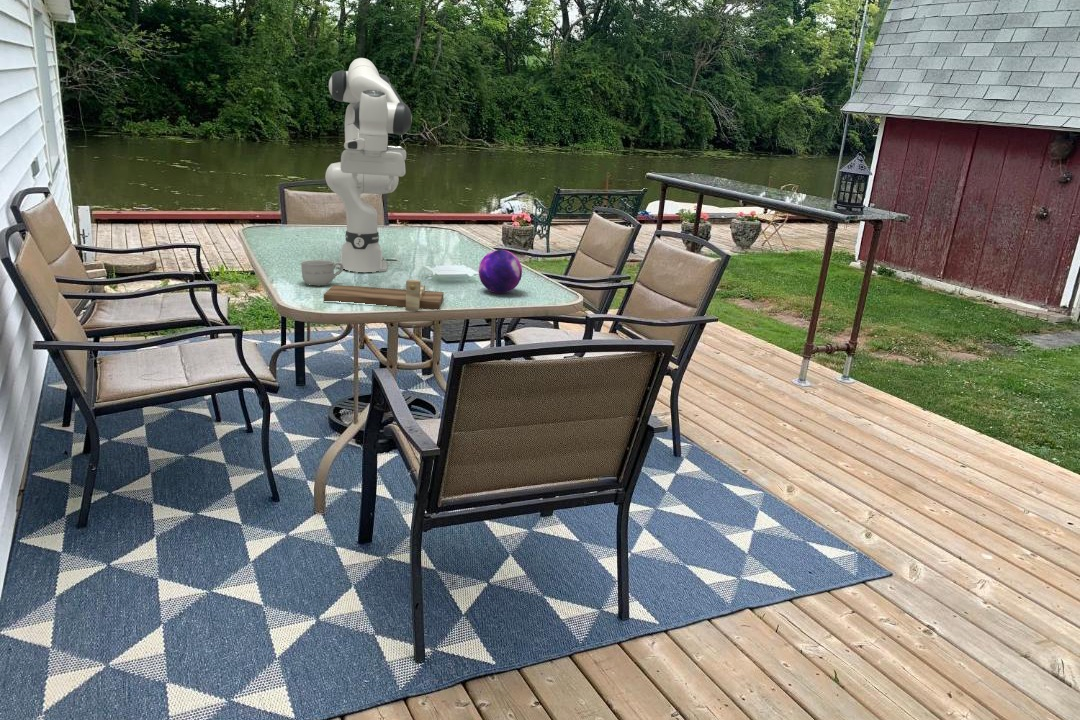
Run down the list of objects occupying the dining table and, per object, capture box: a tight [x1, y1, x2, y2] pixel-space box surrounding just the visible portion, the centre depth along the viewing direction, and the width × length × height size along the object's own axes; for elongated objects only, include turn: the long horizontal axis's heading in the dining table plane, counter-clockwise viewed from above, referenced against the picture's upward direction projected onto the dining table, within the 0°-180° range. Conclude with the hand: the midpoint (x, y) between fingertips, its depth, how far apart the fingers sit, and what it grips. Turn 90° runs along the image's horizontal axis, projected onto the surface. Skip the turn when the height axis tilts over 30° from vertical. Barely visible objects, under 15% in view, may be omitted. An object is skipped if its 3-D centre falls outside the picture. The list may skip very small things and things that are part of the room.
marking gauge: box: [405, 278, 426, 311], centre depth 256 cm, size 17×4×9 cm, turn 1°
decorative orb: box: [478, 249, 523, 294], centre depth 279 cm, size 15×15×15 cm
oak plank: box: [323, 284, 445, 311], centre depth 259 cm, size 14×36×2 cm, turn 91°
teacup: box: [300, 259, 344, 287], centre depth 273 cm, size 14×11×8 cm
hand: (373, 189), depth 258 cm, fingers open, 8 cm apart
